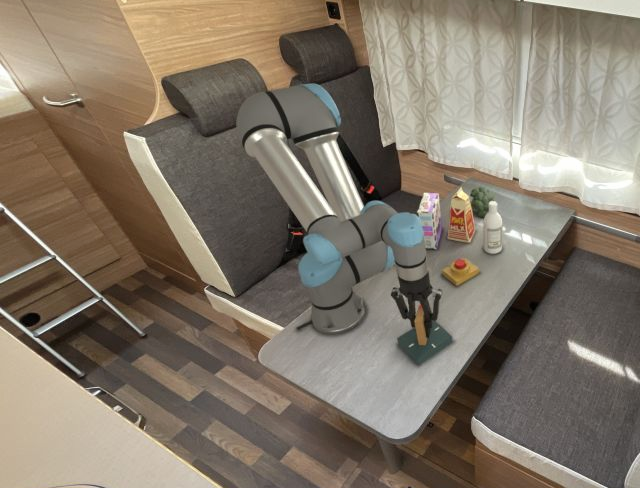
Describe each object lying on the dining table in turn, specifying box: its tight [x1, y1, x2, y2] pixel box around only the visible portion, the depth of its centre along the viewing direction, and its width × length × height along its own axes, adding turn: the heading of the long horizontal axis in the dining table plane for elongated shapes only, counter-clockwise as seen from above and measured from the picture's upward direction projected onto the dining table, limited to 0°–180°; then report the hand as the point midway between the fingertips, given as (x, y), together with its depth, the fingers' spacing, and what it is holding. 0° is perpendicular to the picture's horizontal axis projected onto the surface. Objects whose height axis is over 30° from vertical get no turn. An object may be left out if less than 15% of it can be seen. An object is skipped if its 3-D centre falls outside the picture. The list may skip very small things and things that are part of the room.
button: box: [454, 258, 466, 269], centre depth 138 cm, size 4×4×2 cm
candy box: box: [416, 192, 443, 250], centre depth 150 cm, size 14×6×16 cm, turn 179°
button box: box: [441, 257, 480, 287], centre depth 140 cm, size 10×8×4 cm
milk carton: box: [447, 186, 476, 244], centre depth 152 cm, size 9×9×20 cm
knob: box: [414, 304, 427, 345], centre depth 112 cm, size 6×2×10 cm, turn 178°
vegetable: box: [469, 186, 495, 219], centre depth 167 cm, size 12×13×15 cm
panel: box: [396, 320, 453, 366], centre depth 116 cm, size 12×10×3 cm
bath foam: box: [482, 200, 504, 255], centre depth 146 cm, size 7×7×20 cm
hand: (423, 333), depth 114 cm, fingers closed on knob, 2 cm apart
